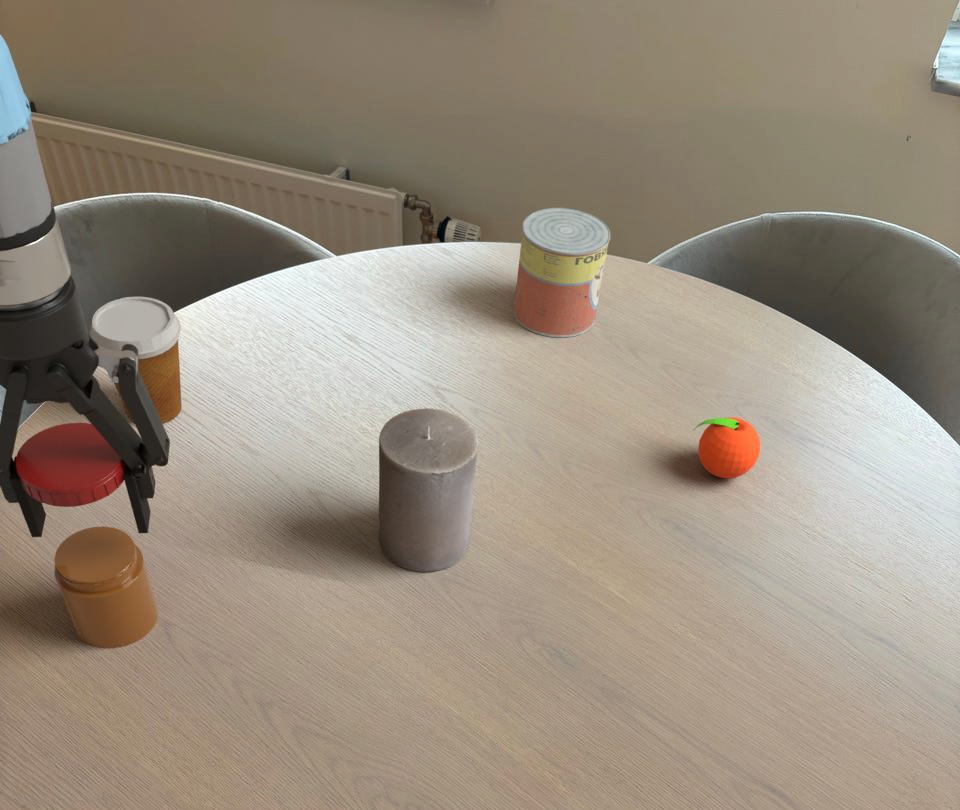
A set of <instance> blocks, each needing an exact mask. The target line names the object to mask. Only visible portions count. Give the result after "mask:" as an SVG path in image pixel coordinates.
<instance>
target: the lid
mask: <svg viewBox="0 0 960 810" xmlns="http://www.w3.org/2000/svg"><path fill="white" fill-rule="evenodd" d="M15 457H16V468H17V473H18V476H19V477H20V481H21V483H22V486H23V489H24V490H26V491H27V493H28V494H29V495H30V496H31V497H33V498H34V499H36V500H38V501H40V502H41V503H42V504H45V505H48V506H51V507H58V508H59V507H60V508H70V507H71V508H73V507H81V506H85V505H90V504H93V503H97V502H99V501H100V500H103V499H105V498H106V497H108V496H110V495H111V494H113V493H114V492H115V491H116V490H118V489H119V488H120V486H122V484H123V482H125V481H124V477H123V474H124V471H125V468H126V465H127V464H126V463H125V462H124V461H123V459H122V458H121V457H120V456H119V455H118V454H117V452H116V451H115V450H114V449H113V448H112V447H111V446H110V444H109V443H108V442H107V441H106V440H105V439H104V438H103V436H102V435H101V434H100V433H99V432H98V431H97V430H96V428H95V427H94V426H93V425H92V424H91V423H90V422H89V423H88V422H68V423H67V422H66V423H62V424H57V425H53V426H50V427H47V428H45V429H43V430H40V431H38V432H37V433H35V434H34V435H32V436H30V437H29V438H28V439H27V440H25V442H23V444H22V445H21V446H20V447H19V449H18V451H17V453H16V456H15Z"/></svg>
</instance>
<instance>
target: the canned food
mask: <svg viewBox="0 0 960 810" xmlns="http://www.w3.org/2000/svg"><path fill="white" fill-rule="evenodd" d="M521 231H522V232H521V240H520V241H521V242H520V250H519V262H518V268H517V271H518V272H517V279H516V286H515V287H516V288H515V295H514V296H515V297H514V304H513V308H512V309H513V310H512V312H513V316H514V318H515V320H516V321H517V322H518V323H519V324H520V325H521V327H523V328H525V329H527V330H528V331H530V332H532V333H534V334H537V335H540V336H544V337H549V338H558V339H560V338H563V339H564V338H572V337H576V336H580V335H582V334H584V333H586V332H588V331H589V330H591V329H592V327H594V325H595V322H596V318H597V315H596V314H597V310H598V309H597V308H598V303H599V299H600V298H599V297H600V293H601V287H602V281H603V276H604V270H605V264H606V259H607V254H608V249H609V242H610V241H611V231H610V228H609V226H608V225H607V224H606V223H605V222H604V221H603V220H602V219H600V218H599V217H597V216H595V215H593V214H591V213H588V212H586V211H583V210H579V209H574V208H568V207H549V208H543V209H539V210H537V211H534V212H532V213H530V214H529V215H527V216H526V217H525V218H524V219H523V222H522V225H521Z"/></svg>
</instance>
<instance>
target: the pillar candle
mask: <svg viewBox="0 0 960 810" xmlns="http://www.w3.org/2000/svg"><path fill="white" fill-rule="evenodd" d="M478 436H479V434H478V431H477V430H476V429H475V428H474V427H473V426H471V424H469V422H467V421H466V420H464V419H463V418H462V417H460V416H459V415H456V414H454V413H452V412H449V411H447V410H443V409H436V408H416V409H410V410H405V411H403V412H400V413H398V414H397V415H394V416H392V417H391V418H389V420H388V421H386V422H385V424H384V425H383V427H382V429H381V430H380V433H379V437H378V542H379V543H378V544H379V547H380V549H381V552H383V554H384V555H385V556H386V557H387V558H388V559H389V561H391V562H392V563H393V564H395V565H396V566H399V567H400V568H403V569H406V570H410V571H413V572H414V571H415V572H425V573H430V572H437V571H441V570H445V569H448V568H450V567H451V566H453V565H455V564H457V563H458V562H459V561H460V560H461V559H462V557H463V556H464V554H465V552H466V551H467V549H468V546H469V543H470V534H471V525H472V514H473V513H472V512H473V505H474V503H473V502H474V491H475V478H476V467H477V458H478V448H479V439H478Z"/></svg>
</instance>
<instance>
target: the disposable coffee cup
mask: <svg viewBox="0 0 960 810" xmlns="http://www.w3.org/2000/svg"><path fill="white" fill-rule="evenodd" d="M181 326H182V325H181V322H180V320H179V317H177V315H176V314H175V313H174V310H173V309H172V308H171V306H170V305H168V304H167V303H165V302H163V301H161V299H157V298H153V297H147V296H127V297H126V296H125V297H121V298H118V299H114V300H112V301H109V302H107V303H104V304H103V305H102V306H101V307H99V308H98V309H97V310H96V311H95V312H94V314H93V315H92V319H91V325H90V328H89V335H90V336H91V338H92V339H93V340H94V341H95V342H96V343H97V345H98V346H99V348H104V349H112V350H120V351H121V349H122V347H123V345H125V344H132V345H134V346H135V347H136V348H137V349H138V363H139V373H140V375H141V377H142V379H143V382H144V384H145V386H146V388H147V390H148V393H149V395H150V397H151V399H152V402H153V404H154V406H155V408H156V411H157V413H158V415H159V417H160V420H161V422H162V424H163V425H164V424H166V423H168V422H170V421H173V420H174V419H175V418H176V417H178V415H180V413H181V411H182V389H181V387H182V386H181V370H180V350H179V338H180V334H181V328H182V327H181ZM113 384H114V386H115V389H116V391H117V393H118V396H119V399H120V400H121V404H122V405H123V408H124V410H125V412H126V415H127V417H128V418H129V419H130V420H131V421H133V419H132V417H131V415H130V413H129V411H128V409H127V407H126V405H125V402H124V400H123V398H122V396H121V393H120V390H119V383H114V382H113Z"/></svg>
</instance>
